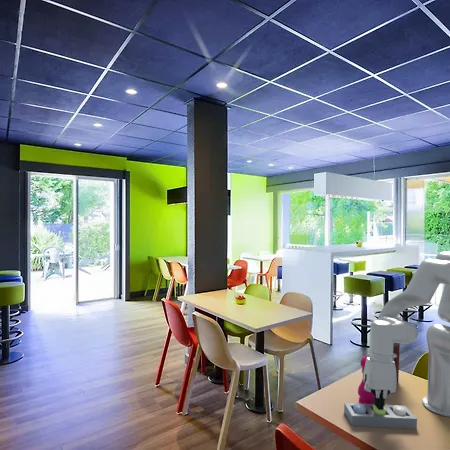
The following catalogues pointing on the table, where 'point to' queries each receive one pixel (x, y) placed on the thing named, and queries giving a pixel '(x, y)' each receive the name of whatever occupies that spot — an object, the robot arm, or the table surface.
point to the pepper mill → (364, 395)
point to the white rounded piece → (399, 410)
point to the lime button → (379, 411)
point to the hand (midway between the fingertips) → (379, 407)
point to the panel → (380, 417)
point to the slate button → (359, 409)
